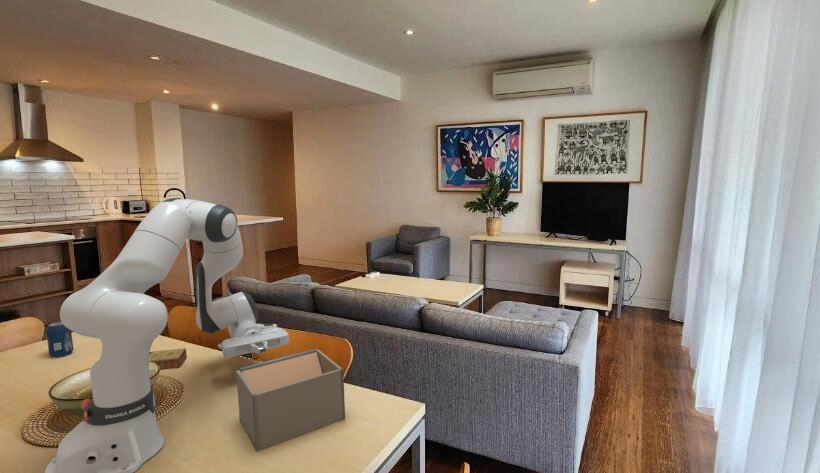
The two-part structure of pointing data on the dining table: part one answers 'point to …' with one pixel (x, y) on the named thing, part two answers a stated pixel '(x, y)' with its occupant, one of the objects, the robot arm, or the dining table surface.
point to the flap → (282, 371)
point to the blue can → (59, 340)
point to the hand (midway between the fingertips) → (263, 350)
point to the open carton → (292, 406)
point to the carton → (168, 358)
